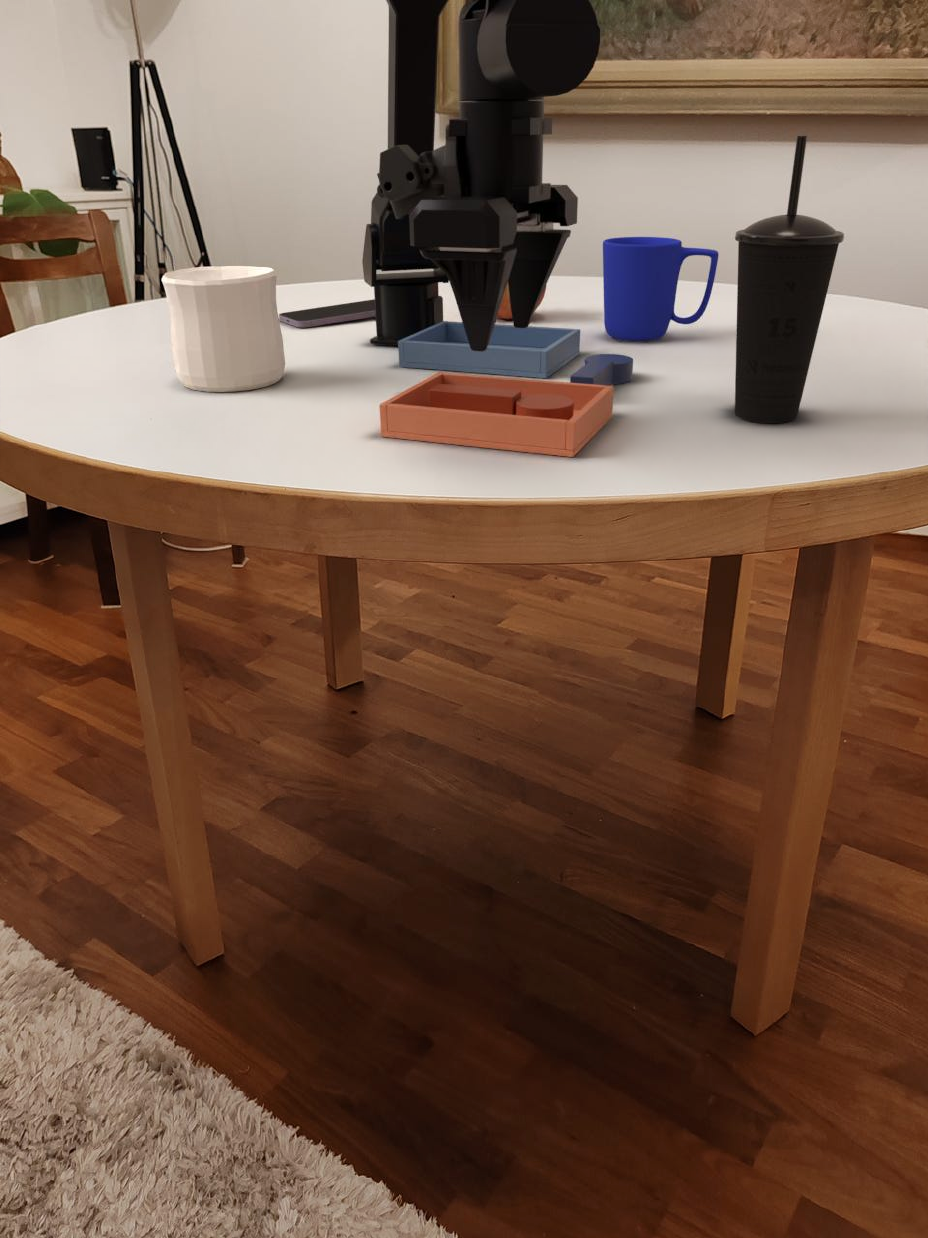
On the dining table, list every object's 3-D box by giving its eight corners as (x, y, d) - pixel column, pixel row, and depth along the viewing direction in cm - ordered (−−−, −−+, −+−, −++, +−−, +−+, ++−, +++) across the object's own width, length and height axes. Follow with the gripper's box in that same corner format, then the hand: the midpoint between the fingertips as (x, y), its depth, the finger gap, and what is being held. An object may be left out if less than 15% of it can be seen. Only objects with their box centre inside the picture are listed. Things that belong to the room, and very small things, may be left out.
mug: (710, 347, 99) (721, 245, 95) (595, 344, 102) (600, 244, 97) (708, 332, 107) (718, 236, 102) (600, 329, 109) (605, 236, 104)
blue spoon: (606, 404, 80) (607, 378, 79) (555, 400, 81) (556, 374, 80) (636, 374, 89) (638, 351, 88) (591, 371, 90) (592, 348, 89)
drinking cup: (703, 404, 79) (731, 136, 70) (792, 401, 80) (831, 134, 71) (734, 430, 72) (769, 136, 63) (831, 426, 73) (880, 134, 64)
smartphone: (275, 313, 117) (382, 297, 124) (276, 322, 118) (383, 306, 124) (299, 322, 112) (410, 304, 118) (300, 331, 112) (410, 314, 119)
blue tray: (398, 366, 93) (397, 340, 92) (443, 344, 103) (443, 320, 101) (546, 378, 88) (547, 351, 87) (579, 353, 97) (580, 329, 96)
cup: (171, 375, 91) (154, 268, 87) (274, 365, 95) (263, 261, 90) (184, 398, 84) (166, 281, 79) (295, 386, 87) (285, 274, 82)
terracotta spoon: (423, 421, 74) (422, 393, 73) (445, 407, 78) (444, 380, 77) (563, 434, 70) (564, 405, 69) (579, 419, 74) (581, 391, 73)
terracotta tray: (380, 436, 72) (379, 404, 71) (439, 401, 82) (438, 371, 80) (573, 457, 67) (574, 422, 66) (612, 416, 76) (614, 385, 75)
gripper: (445, 106, 74) (449, 312, 82) (328, 102, 59) (346, 356, 66) (583, 102, 71) (575, 319, 78) (496, 97, 55) (496, 368, 62)
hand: (500, 338), depth 71 cm, fingers open, 9 cm apart
